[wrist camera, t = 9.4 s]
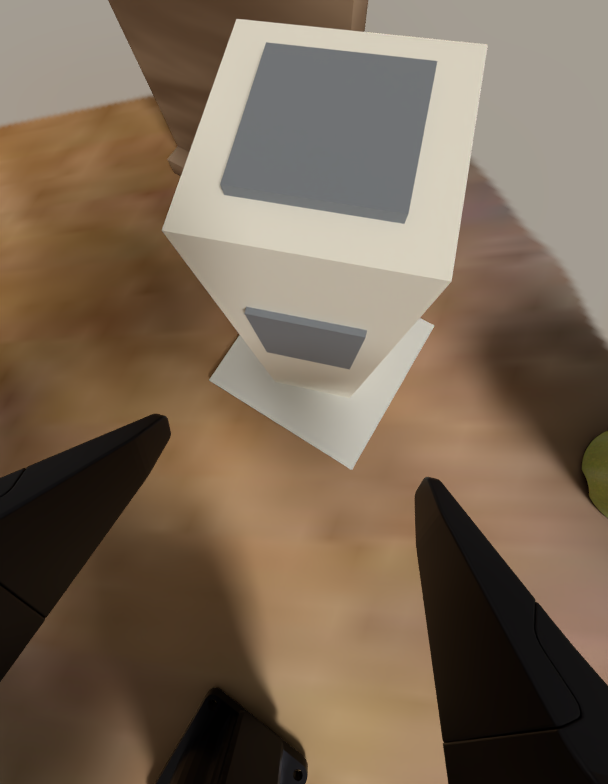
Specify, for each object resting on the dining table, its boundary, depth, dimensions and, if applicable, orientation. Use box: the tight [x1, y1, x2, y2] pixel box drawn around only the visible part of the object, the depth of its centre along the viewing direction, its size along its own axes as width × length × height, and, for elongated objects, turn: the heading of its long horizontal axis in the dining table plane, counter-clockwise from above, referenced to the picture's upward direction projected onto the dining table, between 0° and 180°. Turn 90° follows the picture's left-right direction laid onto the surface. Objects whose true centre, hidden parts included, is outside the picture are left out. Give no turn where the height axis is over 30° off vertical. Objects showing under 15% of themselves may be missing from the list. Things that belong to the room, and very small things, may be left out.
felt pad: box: [209, 318, 434, 470], centre depth 18 cm, size 11×11×1 cm
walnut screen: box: [108, 0, 368, 176], centre depth 15 cm, size 4×14×12 cm, turn 58°
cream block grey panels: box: [162, 19, 488, 398], centre depth 11 cm, size 5×5×13 cm
